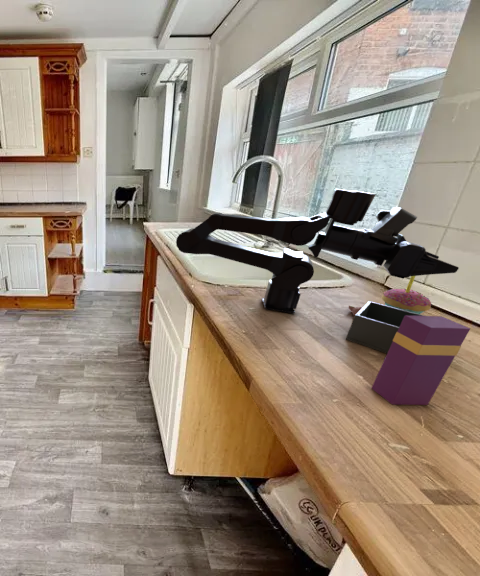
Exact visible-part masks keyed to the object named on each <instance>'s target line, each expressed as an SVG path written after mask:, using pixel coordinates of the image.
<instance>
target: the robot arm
mask: <svg viewBox="0 0 480 576" xmlns="http://www.w3.org/2000/svg"><path fill="white" fill-rule="evenodd" d="M376 195H377V194H376V193H371V192H365V191H360V190H347V189H342V188H341V189H340V188H335V189H334V190H333V193H332V196H331V200H330V202H329V204H328V206H327V209H326V211H325V212H322V213H318V214H315V215H314V216H310V217H306V216H296V217H295V216H294V217H280V218H267V217H266V218H265V217H257V216H247V215H237V214H228V213H223V212H215V213H213V214H211V215H209V216H208V217H207V219H205V220H203V222H201V223H200V224H198V225H197V226H195V227H194V228H193V227H192V228H188V229H186V230H184V231H183V232H181V233H179V234H178V236H177V237H176V241H175V244H176V247H177V249H178V251H179V252H181V253H183V254H188V255H189V254H190V255H211V256H214V257H219V258H223V259H226V260H230V261H234V262H237V263H241V264H244V265H249V266H252V267H255V268H259V269H263V270H266V271H268V272H270V273H271V279H269V280H268V282H267V286H266V290H265V292H264V293H265V294H264V297H262V298H261V301H262V304H263V306H264V309H266V310H270V311H275V312H281V313H286V314H296V311H295V310H296V309H297V307H298V304H299V301H300V298H301V295H302V294H301V293H300V290H301V288H300V286H301V285H302V284H305V283H308V282H309V281H310V280H311V279H312V278H313V276H314V273H315V270H314V269H315V268H314V265H313V261H312V259H311V258H310V257H309V256H308V255H306V254H304V251H302V250H301V251H295V250H292V249H290V248H287V247H283V251H282V252H270V251H266V250H261V249H258V248H254V247H250V246H246V245H242V244H237V243H234V242H229V241H226V240H222V239H218V238H216V237H213V236H212V235H211V234H213V233H214V232H216V231H217V230H220V231H227V232H235V233H241V234H242V233H243V234H250V235H258V236H266V237H269V238H273V239H275V240H278V241H280V242H283V243H287V244H290V245H293V246H298V247H299V246H302V247H303V246H306V245H308V244H309V243H312V241H314V242H313V243H312V244H310V245H308V246H307V248H308V250H309V251H310V252H311V253H312V255H313V257H314V258H315V259H316V258H317V259H318V258H319V255H320V253H321V252H322V251H326V252H330V253H335V254H339V255H342V256H346V257H350V259H352V260H356V261H358V260H363V261H368V262H371V263H373V264H375V265H376V266H380V267H381V266H383V268H384V270H385V271H386V272H387V273H388V274H389V275H390V276H391V277H395V278H399V279H402V280H403V279H405V278H411V276H415V277H418V276H429V275H442V274H444V275H445V274H456V273H457V272H458V271H459V269H460V268H459V266H457V265H454V264H452V263H450V262H446V261H443V260H441V259H439V258H440V256H438V255H437V254H434V253H431V252H429V251H427V249H426V248H425V246H424V245H421V244H418V243H414V242H411V241H407V239H406V238H405V236H404V235H403V234H400V232H402V231H403V230H404V229H405V228H407V227H408V226H409V225H411V224H413V223H414V222H415V221H416V220H417V219H418V216H417V215H415V214H414V213H412V212H409V211H408V210H406V209H405V208H403V207H400V206H395V207H392V208H391V210H385V209H380V210H379V211H378V212H377V213H376V214H375V218H376V220H377V222H376V223H375V225H374V226H373V227H372V228H371V229H370V228H365V227H364V228H360V229H358V228H357V229H356V228H351V227H347V226H354V225H355V224H357V223H358V222H363V221H364V219H365V216H366V214H367V212H368V211H369V209H370V207H371V205H372V202H373V201H374V199H375V197H376ZM335 223H337V224H341V225H337V224H335ZM342 225H347V226H342ZM323 229H324V231H322V230H323ZM317 233H318V234H317ZM315 237H316V238H315ZM314 239H315V240H314Z"/></svg>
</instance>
